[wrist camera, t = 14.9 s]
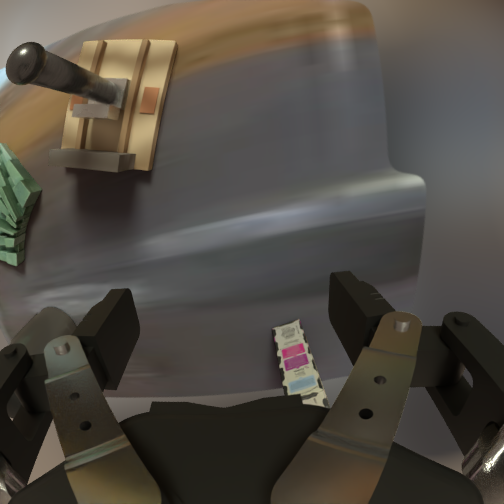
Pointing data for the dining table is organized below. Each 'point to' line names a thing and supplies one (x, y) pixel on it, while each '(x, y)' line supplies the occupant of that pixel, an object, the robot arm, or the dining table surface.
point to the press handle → (68, 81)
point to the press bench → (130, 120)
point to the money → (14, 205)
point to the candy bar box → (298, 364)
